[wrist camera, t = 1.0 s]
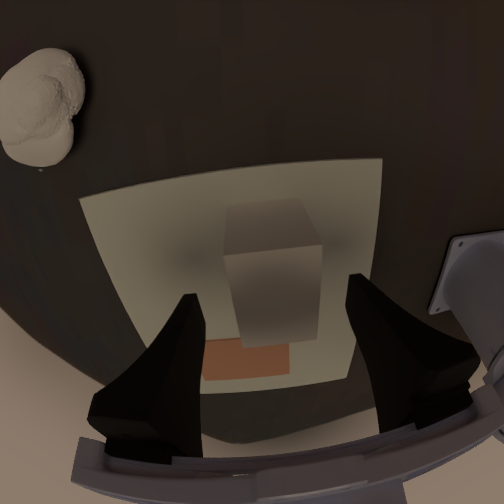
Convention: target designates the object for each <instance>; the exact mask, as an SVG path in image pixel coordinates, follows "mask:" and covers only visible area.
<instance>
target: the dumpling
mask: <svg viewBox="0 0 504 504" xmlns="http://www.w3.org/2000/svg"><path fill="white" fill-rule="evenodd" d="M84 81H85V80H84V78H83V74H82V72H81V70H79V68H78V65H77V64H76V61H75V58H73V57H72V55H71V54H69V53H68V52H67V51H64V50H61V49H56V48H47V49H41V50H38V51H36V52H34V53H32V54H31V55H29V56H27V57H26V58H25V59H23V60H22V61H21V62H19V63H18V64H17V65H15V66H14V67H12V68H11V69H9V70H8V71H7V73H6V74H5V75H4V76H3V77H2V79H1V80H0V140H1V141H2V145H3V148H4V150H5V152H6V153H7V154H8V155H9V156H10V157H11V158H12V159H13V160H15V161H17V162H20V163H23V164H26V165H29V166H37V167H46V166H50V165H55V164H57V163H58V162H59V161H61V160H62V159H63V158H64V157H65V156H66V155H67V154H68V152H69V151H70V149H71V147H72V144H73V135H74V127H73V123H72V121H71V120H72V118H73V117H72V116H73V115H77V112H79V110H80V108H81V106H82V104H83V103H84V102H83V101H84V98H85V82H84ZM38 171H43V170H42V169H38Z"/></svg>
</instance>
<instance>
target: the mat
mask: <svg viewBox="0 0 504 504" xmlns="http://www.w3.org/2000/svg"><path fill="white" fill-rule="evenodd" d="M381 178H382V158H345V159H324V160H308V161H295V162H283V163H272V164H263V165H253V166H245V167H237V168H229V169H222V170H215V171H208V172H201V173H195V174H189V175H183V176H177V177H171V178H166V179H160V180H155V181H150V182H145V183H140V184H135V185H131V186H126V187H121V188H117V189H113V190H108V191H104V192H100V193H96V194H92V195H88V196H84V197H81V198H80V199H79V200H80V203H81V206H82V209H83V212H84V214H85V217H86V220H87V223H88V225H89V228H90V230H91V233H92V236H93V238H94V241H95V243H96V246H97V248H98V250H99V253H100V255H101V258H102V260H103V262H104V265H105V267H106V269H107V271H108V273H109V276H110V278H111V280H112V282H113V284H114V286H115V289H116V291H117V293H118V295H119V297H120V299H121V301H122V303H123V305H124V307H125V309H126V311H127V313H128V314H129V316H130V318H131V320H132V322H133V324H134V326H135V328H136V329H137V331H138V333H139V335H140V337H141V338H142V340H143V342H144V344H145V345H146V347H147V348H148V347H149V345H150V344H151V343H152V342H153V340H154V339H155V338H156V336H157V335H158V334H159V332H160V331H161V329H162V328H163V326H164V325H165V323H166V322H167V320H168V319H169V317H170V316H171V314H172V313H173V311H174V309H175V308H176V306H177V304H178V303H179V301H180V299H181V298H182V296H183V295H184V294H191V293H197V297H198V300H199V303H200V306H201V309H202V313H203V316H204V319H205V322H206V340H214V339H227V338H239V337H240V333H239V329H238V324H237V320H236V315H235V311H234V306H233V301H232V296H231V292H230V287H229V282H228V277H227V272H226V267H225V262H224V257H223V252H224V240H225V228H226V216H227V205H233V204H241V203H250V202H259V201H268V200H277V199H287V198H297V197H300V199H301V201H302V203H303V205H304V207H305V209H306V211H307V213H308V215H309V217H310V219H311V221H312V224H313V226H314V228H315V230H316V232H317V234H318V236H319V238H320V240H321V243H322V270H321V290H320V306H319V320H318V333H317V339H316V340H309V341H302V342H295V343H289V365H290V374H285V375H276V376H267V377H257V378H246V379H232V380H213V381H205V379H204V377H203V375H202V374H201V382H200V394H207V393H231V392H246V391H258V390H268V389H277V388H286V387H293V386H301V385H307V384H314V383H320V382H326V381H331V380H337V379H342V378H346V377H347V373H348V370H349V366H350V363H351V359H352V355H353V352H354V348H355V344H356V338H355V335H354V333H353V330H352V328H351V325H350V323H349V319H348V316H347V312H346V308H345V301H346V294H347V287H348V279H349V275H350V274H357V273H361V274H363V275H364V276H365V277H366V278H367V279H368V280H369V278H370V272H371V266H372V260H373V253H374V246H375V239H376V231H377V223H378V214H379V204H380V192H381Z"/></svg>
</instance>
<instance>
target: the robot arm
mask: <svg viewBox="0 0 504 504" xmlns="http://www.w3.org/2000/svg"><path fill="white" fill-rule="evenodd" d="M345 308H346V312H347V316H348V319H349V323H350V325H351V328H352V330H353V333H354V335H355V338H356V340H357V342H358V345H359V347H360V350H361V352H362V355H363V357H364V360H365V362H366V365H367V369H368V373H369V376H370V380H371V385H372V389H373V394H374V399H375V404H376V410H377V416H378V424H379V431H380V432H379V433H380V434H378V435H375V436H371V437H367V438H364V439H360V440H356V441H352V442H347V443H343V444H339V445H334V446H329V447H324V448H319V449H313V450H307V451H300V452H293V453H285V454H277V455H266V456H253V457H235V458H233V457H232V458H203V451H202V440H201V423H200V382H201V374H202V366H203V358H204V351H205V343H206V322H205V319H204V316H203V313H202V309H201V306H200V303H199V300H198V297H197V293H191V294H184V295H183V296H182V298H181V299H180V301H179V303H178V304H177V306H176V308H175V309H174V311H173V313H172V314H171V316H170V317H169V319H168V320H167V322H166V323H165V325H164V326H163V328H162V329H161V331H160V332H159V334H158V335H157V336H156V338H155V339H154V340H153V342H152V343H151V344H150V345H149V347H148V348H147V349H146V350H145V351H144V353H143V354H142V355H141V356H140V357H139V358H138V359H137V360H136V361H135V362H134V363H133V364H132V365H131V366H130V367H129V368H128V369H127V370H126V371H125V372H123V373H122V374H121V375H120V376H119V377H118V378H116V379H115V380H114V381H113V382H111V383H110V384H108V385H107V386H106V387H104V388H103V389H101V390H100V391H98V392H97V393H95V394H94V396H93V399H92V402H91V406H90V409H89V413H88V417H87V421H88V422H89V424H90V425H91V426H92V427H93V428H94V429H96V430H97V431H98V432H100V433H101V434H102V435H104V436H105V437H106V438H107V439H106V443H103V442H101V441H97V440H93V439H89V438H84V437H80V438H79V442H78V446H77V451H76V455H75V460H74V465H73V470H72V476H71V482H72V483H75V484H77V485H79V486H82V487H84V488H86V489H89V490H92V491H94V492H97V493H99V494H102V495H106V496H110V497H113V498H118V499H121V500H126V501H129V502H134V503H139V504H407V502H406V497H405V492H404V488H403V484H402V483H403V482H405V481H408V480H410V479H413V478H415V477H417V476H420V475H422V474H424V473H426V472H428V471H431V470H433V469H435V468H437V467H439V466H441V465H443V464H445V463H447V462H449V461H451V460H452V459H454V458H456V457H458V456H460V455H461V454H463V453H465V452H467V451H469V450H470V449H472V448H474V447H475V446H477V445H479V444H480V443H482V442H483V441H485V440H486V439H487V438H489V437H490V436H491V435H493V436H494V437H495V438H496V439H498V440H499V441H500V442H502V443H504V230H503V231H495V232H488V233H481V234H474V235H466V236H459V237H454V238H453V239H452V240H451V242H450V245H449V248H448V252H447V255H446V259H445V262H444V265H443V269H442V272H441V275H440V278H439V281H438V284H437V287H436V290H435V292H434V295H433V298H432V301H431V303H430V306H429V308H428V312H429V314H436V313H439V312H443V311H447V310H451V311H452V313H453V314H454V316H455V317H456V319H457V320H458V322H459V323H460V325H461V326H462V328H463V330H464V331H465V333H466V334H467V336H468V338H469V339H470V341H471V343H472V344H473V345H472V344H470V343H467V342H464V341H461V340H459V339H456V338H453V337H451V336H449V335H446V334H444V333H442V332H440V331H438V330H436V329H434V328H432V327H430V326H428V325H427V324H425V323H423V322H422V321H420V320H418V319H417V318H415V317H414V316H412V315H411V314H409V313H408V312H407V311H405V310H404V309H403V308H401V307H400V306H399V305H397V304H396V303H395V302H394V301H392V300H391V299H390V298H389V297H387V296H386V295H385V294H384V293H383V292H382V291H381V290H379V289H378V288H377V287H376V286H375V285H374V284H373V283H372V282H370V281H369V280H368V279H367V278H366V277H365V276H364V275H363V274H361V273H357V274H350V275H349V279H348V287H347V294H346V301H345ZM475 349H476V350H475ZM480 358H481V359H480ZM481 360H482V361H483V363H484V365H485V367H486V369H487V371H488V372H487V374H486V375H485V376H484V377H483V381H484V383H485V385H484V386H482V387H480V388H478V389H477V390H475V391H473V392H472V393H471V394H470V393H469V391H468V389H469V388H470V384H469V382H468V380H469V379H470V377H471V376H472V375H473V373H474V372H475V371H476V370H477V368H478V367H479V364H480V362H481ZM237 474H238V475H239V474H249V475H239V476H233V475H237Z"/></svg>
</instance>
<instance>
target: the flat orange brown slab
mask: <svg viewBox="0 0 504 504" xmlns="http://www.w3.org/2000/svg"><path fill="white" fill-rule="evenodd" d="M285 374H290V365H289V343H287V344H279V345H270V346H261V347H251V348H243V347H242V342H241V338H240V337H239V338H227V339H214V340H206V343H205V351H204V358H203V366H202V375H203V377H204V379H205V381H213V380H232V379H246V378H257V377H267V376H276V375H285Z"/></svg>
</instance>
